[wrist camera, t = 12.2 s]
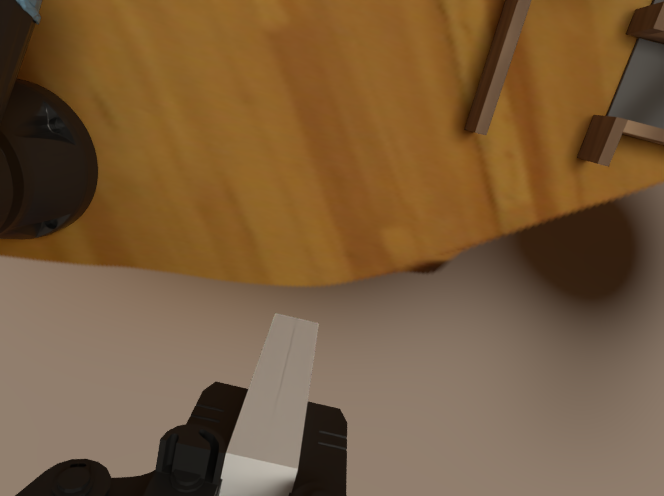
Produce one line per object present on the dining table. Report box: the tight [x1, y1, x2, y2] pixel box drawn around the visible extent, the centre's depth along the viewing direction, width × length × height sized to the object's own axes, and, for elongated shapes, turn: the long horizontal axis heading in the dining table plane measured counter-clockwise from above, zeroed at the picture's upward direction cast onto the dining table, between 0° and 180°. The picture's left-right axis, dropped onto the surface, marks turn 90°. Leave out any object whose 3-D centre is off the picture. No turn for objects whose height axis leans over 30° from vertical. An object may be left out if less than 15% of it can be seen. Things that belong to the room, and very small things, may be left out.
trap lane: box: [465, 0, 664, 166], centre depth 40 cm, size 20×24×4 cm
